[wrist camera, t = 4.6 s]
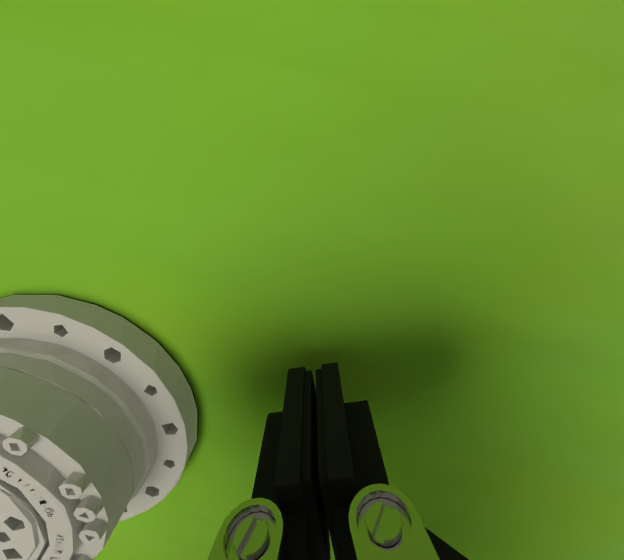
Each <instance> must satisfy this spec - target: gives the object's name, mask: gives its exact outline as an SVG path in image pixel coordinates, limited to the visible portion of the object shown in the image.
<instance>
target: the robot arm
mask: <svg viewBox="0 0 624 560" xmlns="http://www.w3.org/2000/svg"><path fill="white" fill-rule="evenodd" d="M329 532H330V536H331V541H332V546H333V550H334V555H335V560H468V559H467V558H466V557H464V556H463V555H462V554H460V553H459V552H457V551H456V550H455V549H453V548H452V547H451V546H449V545H448V544H447V543H445V542H444V541H443V540H441V539H440V538H439V537H437V536H436V535H435V534H433V533H432V532H431V531H429V530H428V529H426V528H425V527H424V525H423V523H422V521H421V519H420V517H419V514H418V512H417V510H416V508H415V507H414V505H413V504H412V502H411V500H410V499H409V498H408V497H407V496H406V495H405V494H404V493H403V492H402V491H401V490H399V489H397V488H395V487H393V486H391V485H389V483H388V479H387V475H386V471H385V467H384V463H383V459H382V455H381V452H380V448H379V444H378V440H377V436H376V432H375V428H374V424H373V420H372V416H371V413H370V409H369V405H368V402H367V400H365V401H358V402H350V403H344V401H343V395H342V388H341V382H340V376H339V369H338V363H337V362H336V363H328V364H322V369H317V370H316V391H315V386H314V380H313V375H312V371H311V370H310V371H306V369H305V367H300V368H293V369H289V370H288V376H287V384H286V392H285V399H284V407H283V411H282V412H275V413H269V414H268V417H267V421H266V426H265V431H264V436H263V441H262V447H261V452H260V457H259V462H258V467H257V473H256V478H255V483H254V488H253V493H252V499H249V500H247V501H245V502H243V503H241V504H240V505H238V506H237V507H236V508H235V509H233V510H232V511H231V513H230V514H229V515H228V516H227V517H226V519H225V520H224V522H223V524H222V526H221V528H220V530H219V532H218V534H217V537H216V539H215V542H214V545H213V547H212V550H211V552H210V555H209V557H208V560H330V541H329Z"/></svg>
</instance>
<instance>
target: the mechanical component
mask: <svg viewBox="0 0 624 560" xmlns="http://www.w3.org/2000/svg"><path fill="white" fill-rule="evenodd" d="M196 441H197V408H196V404H195V401H194V397H193V394H192V390H191V387H190V386H189V384H188V382H187V380H186V378H185V377H184V375H183V373H182V371H181V369H180V367H179V366H178V365H177V364H176V363H175V362H174V360H173V359H172V358H171V357H170V356H169V355H168V354H167V352H166V351H165V350H164V349H163V348H162V347H161V346H160V344H159V343H158V342H157V341H155V340H154V339H153V338H151V337H150V336H149V335H147V334H146V333H144V332H143V331H142V330H140V329H139V328H137V327H136V326H135V325H133V324H132V323H130V322H129V321H127V320H126V319H124V318H123V317H121V316H119V315H117V314H115V313H112V312H110V311H108V310H106V309H104V308H101V307H99V306H97V305H94V304H90V303H86V302H82V301H79V300H75V299H71V298H67V297H63V296H59V295H11V296H7V297H4V298H1V299H0V560H93V559H94V558H95V557H96V556H97V555H98V553H99V552H100V551H101V550H102V549H103V548H104V546H105V544H106V543H107V541H108V539H109V537H110V535H111V534H112V532H113V530H114V528H115V527H116V525H117V523H118V521H123V520H125V519H128V518H130V517H133V516H135V515H137V514H140V513H142V512H145V511H147V510H149V509H150V508H151V507H153V506H154V505H156V504H157V503H159V502H160V501H161V500H163V499H164V498H165V497H166V496H167V494H168V493H169V492H170V491H171V490H172V489H173V488H174V487H175V485H176V484H177V483H178V481H179V479H180V477H181V475H182V472H183V470H184V468H185V466H186V463H187V461H188V459H189V457H190V454H191V452H192V450H193V448H194V445H195V443H196Z"/></svg>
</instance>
